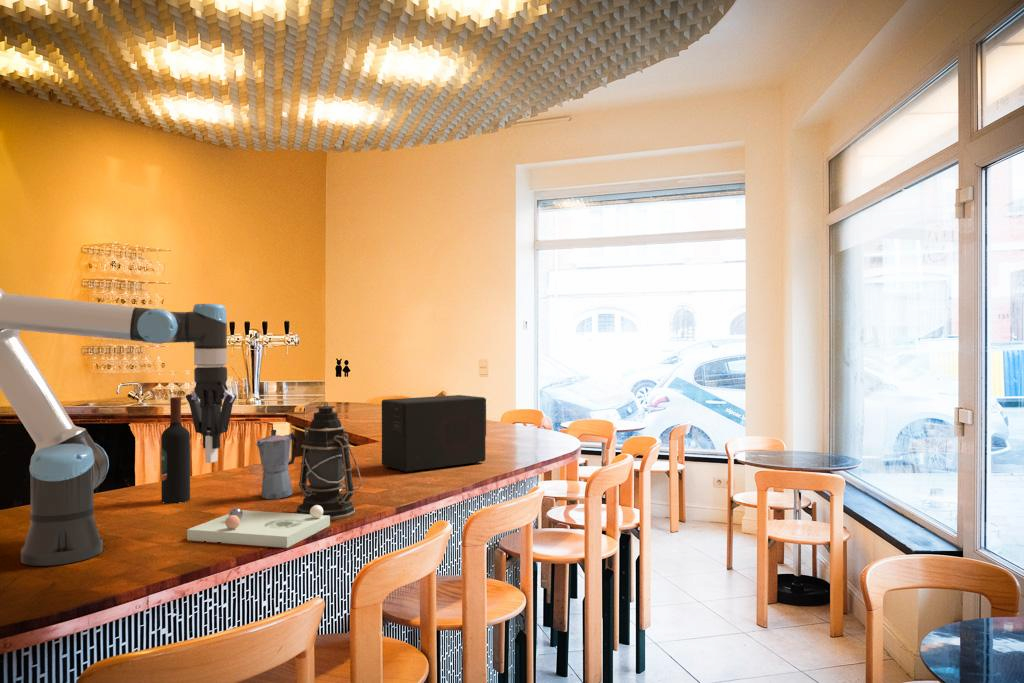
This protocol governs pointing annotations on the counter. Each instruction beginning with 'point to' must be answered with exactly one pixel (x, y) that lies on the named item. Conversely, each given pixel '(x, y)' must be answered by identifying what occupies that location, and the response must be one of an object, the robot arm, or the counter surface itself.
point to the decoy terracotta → (232, 522)
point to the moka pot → (276, 464)
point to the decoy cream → (316, 511)
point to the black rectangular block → (433, 432)
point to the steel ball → (236, 512)
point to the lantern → (326, 466)
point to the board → (260, 529)
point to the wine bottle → (175, 458)
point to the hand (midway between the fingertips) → (211, 461)
